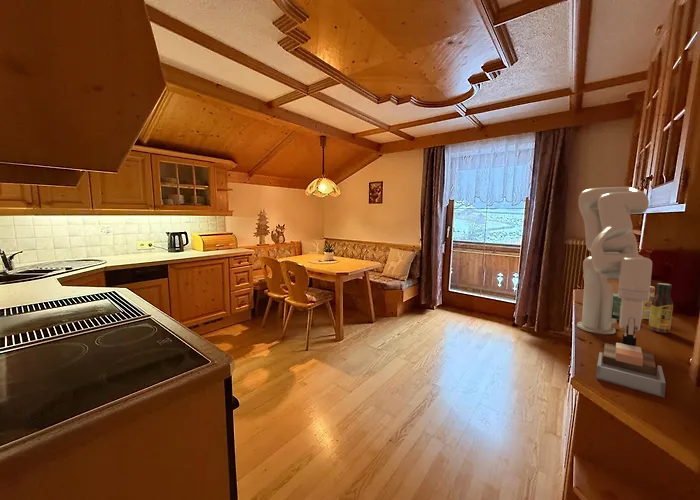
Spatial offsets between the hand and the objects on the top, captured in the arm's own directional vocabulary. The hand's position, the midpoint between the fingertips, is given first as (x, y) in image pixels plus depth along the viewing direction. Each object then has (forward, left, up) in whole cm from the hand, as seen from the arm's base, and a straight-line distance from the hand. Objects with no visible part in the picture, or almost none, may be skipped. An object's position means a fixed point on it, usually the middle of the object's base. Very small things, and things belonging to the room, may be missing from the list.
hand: (628, 347), depth 99 cm
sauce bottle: (-40, -12, -4) cm, 42 cm away
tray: (+14, +8, -4) cm, 17 cm away
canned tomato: (-42, -29, -4) cm, 51 cm away
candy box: (-54, -26, -4) cm, 60 cm away
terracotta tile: (+8, +5, -1) cm, 9 cm away
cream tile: (+4, +2, -1) cm, 4 cm away
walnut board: (+3, +2, -4) cm, 6 cm away
